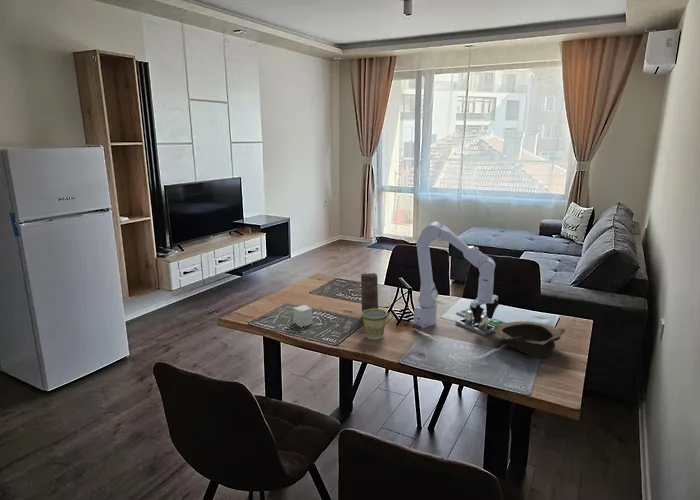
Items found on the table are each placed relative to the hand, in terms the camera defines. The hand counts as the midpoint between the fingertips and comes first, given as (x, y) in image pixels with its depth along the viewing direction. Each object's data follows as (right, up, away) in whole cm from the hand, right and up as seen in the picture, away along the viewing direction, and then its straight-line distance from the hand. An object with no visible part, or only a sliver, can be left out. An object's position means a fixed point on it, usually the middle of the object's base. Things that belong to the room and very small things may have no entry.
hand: (483, 320), depth 185 cm
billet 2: (0, -4, +1) cm, 4 cm away
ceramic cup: (-43, -6, -1) cm, 43 cm away
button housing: (+7, -4, +7) cm, 11 cm away
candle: (-45, -1, +19) cm, 49 cm away
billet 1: (-4, -3, +7) cm, 8 cm away
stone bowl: (+13, -9, -12) cm, 20 cm away
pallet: (-2, -5, +4) cm, 6 cm away
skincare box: (-74, -4, +12) cm, 75 cm away
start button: (+7, -5, +7) cm, 11 cm away
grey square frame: (0, -1, +18) cm, 18 cm away
